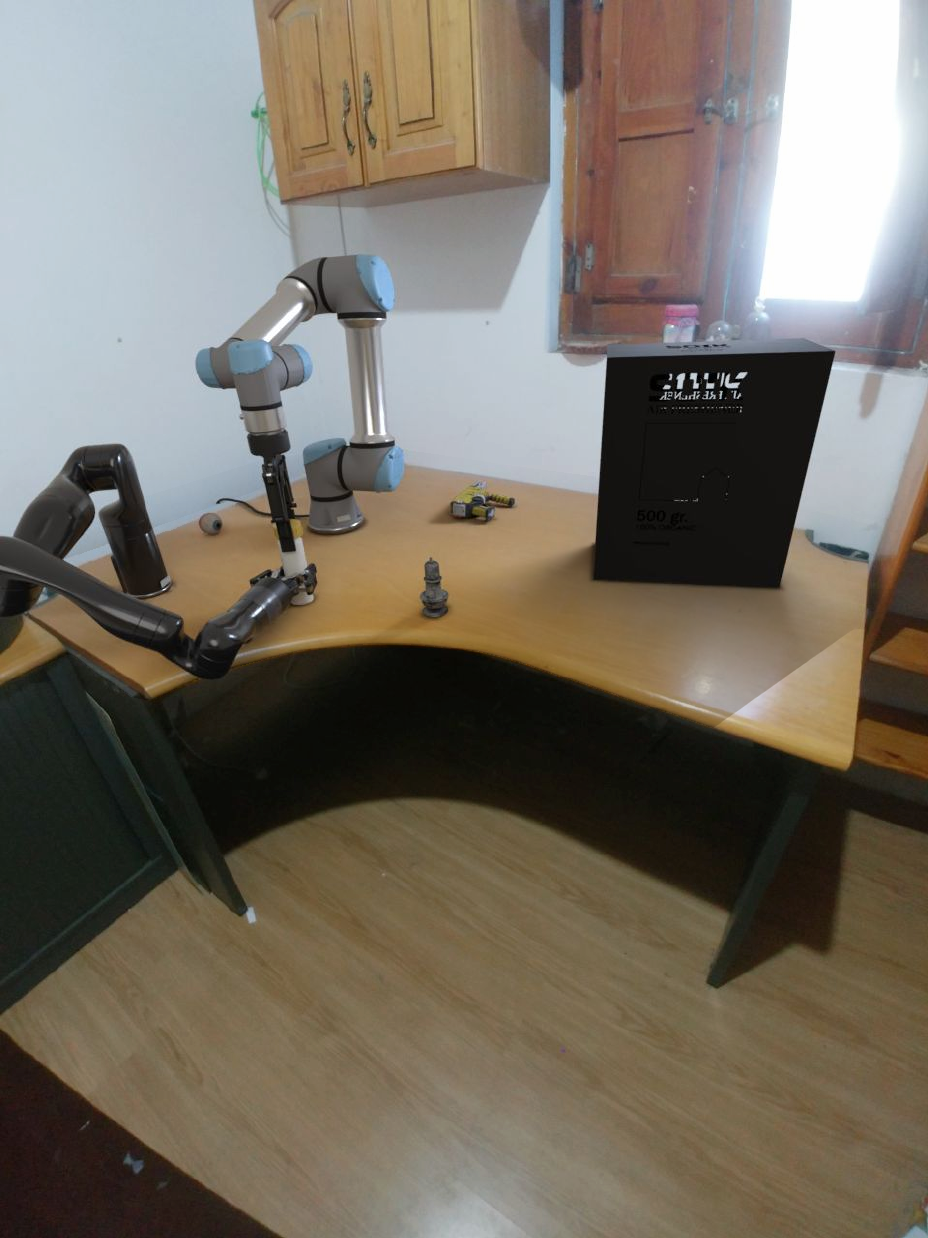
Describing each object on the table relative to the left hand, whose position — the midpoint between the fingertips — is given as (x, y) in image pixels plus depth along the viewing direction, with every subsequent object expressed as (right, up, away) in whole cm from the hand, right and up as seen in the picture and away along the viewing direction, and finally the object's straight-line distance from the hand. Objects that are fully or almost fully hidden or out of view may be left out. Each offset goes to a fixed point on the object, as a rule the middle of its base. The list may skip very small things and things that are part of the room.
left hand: (301, 566), depth 130 cm
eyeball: (-35, +12, +38) cm, 53 cm away
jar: (0, -7, +1) cm, 7 cm away
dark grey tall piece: (+29, -10, -6) cm, 31 cm away
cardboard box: (+84, +1, +7) cm, 84 cm away
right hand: (-1, +4, -5) cm, 7 cm away
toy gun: (+42, +21, +46) cm, 65 cm away
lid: (-1, +8, -7) cm, 11 cm away
